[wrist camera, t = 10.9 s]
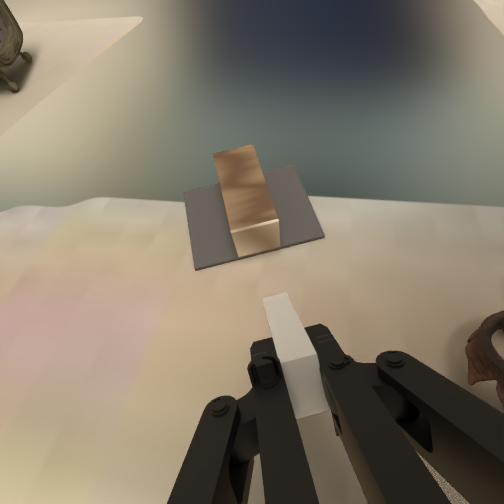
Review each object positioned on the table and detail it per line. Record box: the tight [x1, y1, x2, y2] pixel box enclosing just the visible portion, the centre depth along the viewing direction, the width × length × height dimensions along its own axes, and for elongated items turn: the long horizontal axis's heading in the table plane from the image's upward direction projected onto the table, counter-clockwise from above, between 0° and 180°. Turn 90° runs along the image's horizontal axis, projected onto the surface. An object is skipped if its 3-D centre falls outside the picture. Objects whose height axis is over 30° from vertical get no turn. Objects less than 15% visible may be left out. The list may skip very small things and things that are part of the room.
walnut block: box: [213, 144, 280, 257], centre depth 32 cm, size 4×4×11 cm
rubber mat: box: [184, 165, 325, 270], centre depth 34 cm, size 14×11×1 cm
